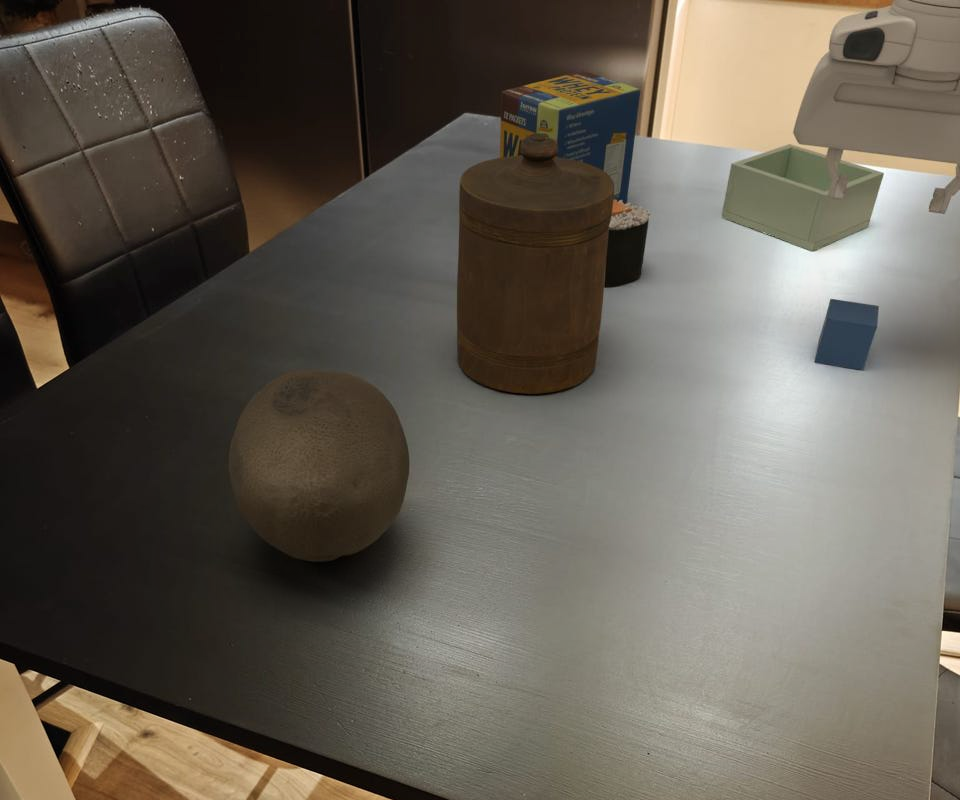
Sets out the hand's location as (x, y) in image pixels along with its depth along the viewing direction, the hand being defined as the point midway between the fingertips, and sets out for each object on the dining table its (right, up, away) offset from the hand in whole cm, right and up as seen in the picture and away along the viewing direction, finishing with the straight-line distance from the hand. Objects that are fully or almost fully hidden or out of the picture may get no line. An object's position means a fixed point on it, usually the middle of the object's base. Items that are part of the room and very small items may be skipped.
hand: (885, 204), depth 90 cm
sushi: (-23, +3, +26) cm, 35 cm away
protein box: (-28, +17, +39) cm, 51 cm away
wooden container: (-34, -12, +10) cm, 38 cm away
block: (0, -11, +11) cm, 16 cm away
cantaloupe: (-51, -35, -13) cm, 63 cm away
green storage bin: (+4, +15, +38) cm, 41 cm away
